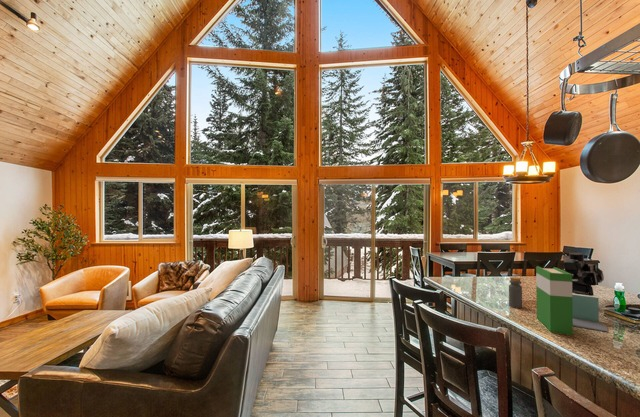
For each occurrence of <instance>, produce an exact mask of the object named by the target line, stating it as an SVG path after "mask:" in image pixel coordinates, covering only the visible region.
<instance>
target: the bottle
mask: <svg viewBox="0 0 640 417" xmlns="http://www.w3.org/2000/svg"><path fill="white" fill-rule="evenodd" d="M509 283H510V284H508V306H509V307H511V308H515V309H522V308H523V286H522V285H521V284H522V281H521V277H519V276H509Z"/></svg>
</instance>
